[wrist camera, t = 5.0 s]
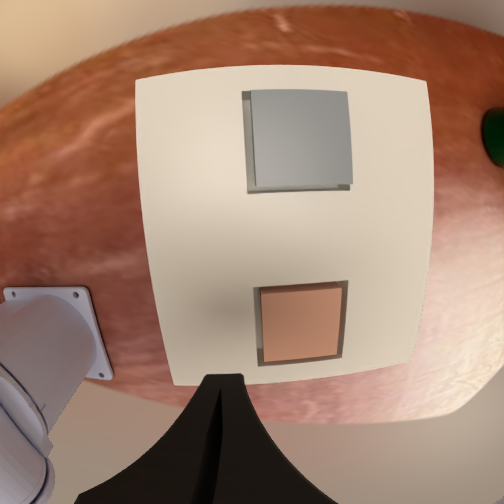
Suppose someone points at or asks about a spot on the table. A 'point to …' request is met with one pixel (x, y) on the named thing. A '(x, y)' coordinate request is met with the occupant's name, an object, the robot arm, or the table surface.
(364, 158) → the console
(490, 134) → the soda can
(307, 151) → the slate key
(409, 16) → the table surface
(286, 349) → the terracotta key
